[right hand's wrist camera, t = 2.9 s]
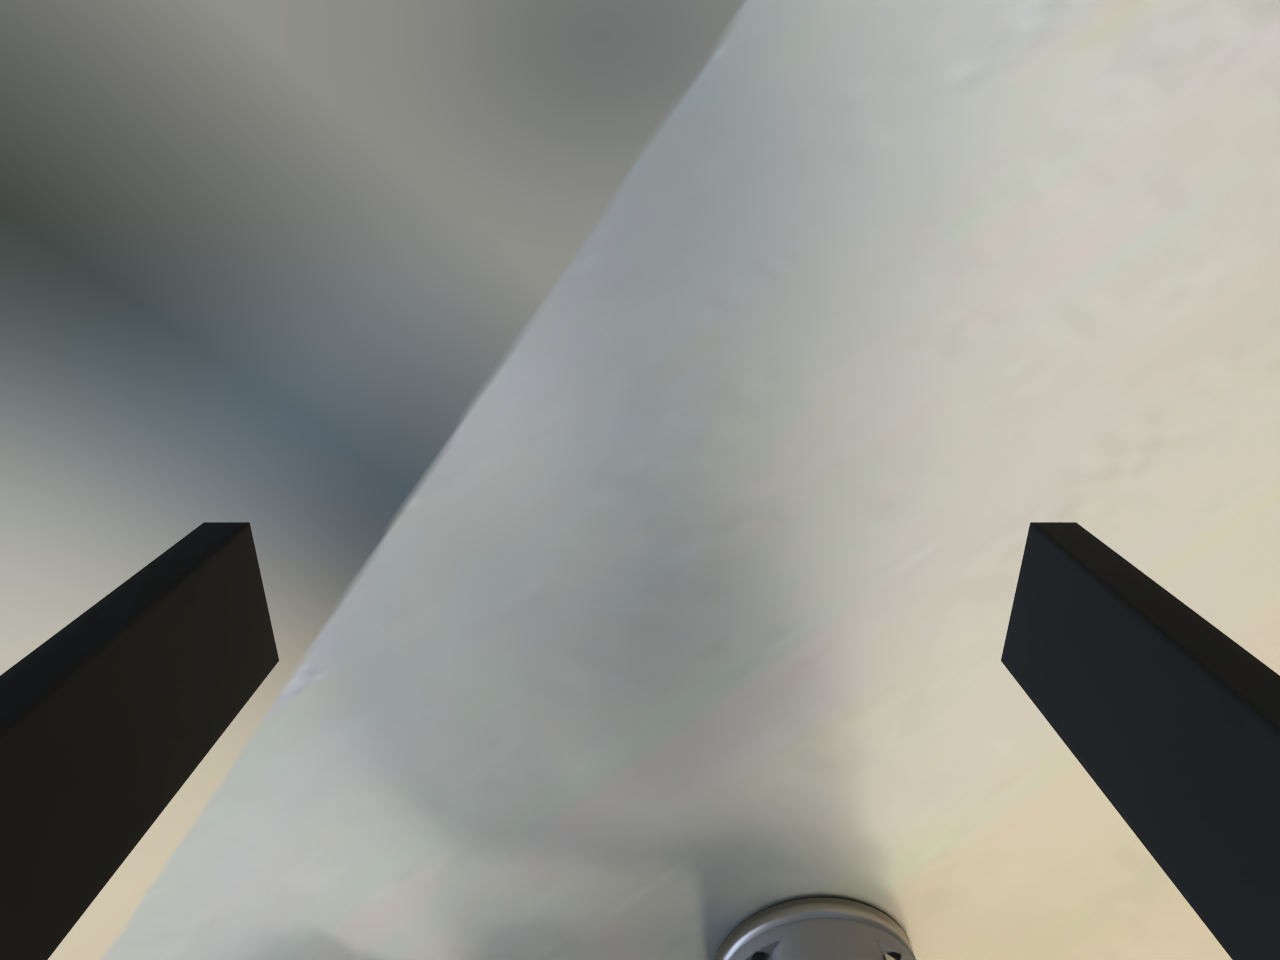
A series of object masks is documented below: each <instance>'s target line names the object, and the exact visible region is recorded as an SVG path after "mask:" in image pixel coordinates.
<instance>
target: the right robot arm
mask: <svg viewBox="0 0 1280 960" xmlns="http://www.w3.org/2000/svg"><path fill="white" fill-rule="evenodd" d="M278 661H279V658H278V654H277V649H276V644H275V640H274V635H273V630H272V626H271V621H270V616H269V611H268V607H267V602H266V597H265V593H264V588H263V583H262V579H261V574H260V569H259V565H258V560H257V555H256V550H255V546H254V541H253V537H252V532H251V527H250V523H203V524H201V525H200V526H199V527H197V528H196V529H195V530H193V531H192V532H191V533H189V534H188V535H187V536H185V537H184V538H183V539H181V540H180V541H179V542H177V543H176V544H175V545H174V546H172V547H171V548H170V549H168V550H167V551H166V552H164V553H163V554H162V555H160V556H159V557H158V558H156V559H155V560H154V561H152V562H151V563H150V564H148V565H147V566H146V567H144V568H143V569H142V570H140V571H139V572H138V573H136V574H135V575H134V576H132V577H131V578H130V579H128V580H127V581H126V582H124V583H123V584H122V585H120V586H119V587H118V588H116V589H115V590H114V591H112V592H111V593H110V594H108V595H107V596H106V597H104V598H103V599H102V600H100V601H99V602H98V603H96V604H95V605H94V606H92V607H91V608H90V609H89V610H87V611H86V612H84V613H83V614H82V615H80V616H79V617H78V618H77V619H75V620H74V621H72V622H71V623H70V624H69V625H67V626H66V627H65V628H63V629H62V630H61V631H59V632H58V633H57V634H55V635H54V636H53V637H51V638H50V639H49V640H47V641H46V642H45V643H43V644H42V645H41V646H39V647H38V648H37V649H35V650H34V651H33V652H31V653H30V654H29V655H27V656H26V657H25V658H23V659H22V660H21V661H19V662H18V663H17V664H15V665H14V666H13V667H11V668H10V669H9V670H7V671H6V672H5V673H3V674H2V675H1V676H0V960H48V958H49V957H50V956H51V954H52V953H53V952H54V951H55V949H56V948H57V947H58V945H59V944H60V943H61V941H62V940H63V939H64V938H65V936H66V935H67V934H68V932H69V931H70V930H71V929H72V927H73V926H74V925H75V923H76V922H77V921H78V919H79V918H80V917H81V916H82V914H83V913H84V912H85V910H86V909H87V908H88V907H89V905H90V904H91V903H92V901H93V900H94V899H95V898H96V896H97V895H98V894H99V892H100V891H101V890H102V889H103V887H104V886H105V885H106V883H107V882H108V881H109V879H110V878H111V877H112V876H113V874H114V873H115V872H116V870H117V869H118V868H119V867H120V865H121V864H122V863H123V861H124V860H125V859H126V858H127V856H128V855H129V854H130V852H131V851H132V850H133V849H134V847H135V846H136V845H137V843H138V842H139V841H140V839H141V838H142V837H143V836H144V834H145V833H146V832H147V830H148V829H149V828H150V827H151V825H152V824H153V823H154V821H155V820H156V819H157V818H158V816H159V815H160V814H161V812H162V811H163V810H164V808H165V807H166V806H167V805H168V803H169V802H170V801H171V799H172V798H173V797H174V796H175V794H176V793H177V792H178V790H179V789H180V788H181V787H182V785H183V784H184V783H185V781H186V780H187V779H188V777H189V776H190V775H191V774H192V772H193V771H194V770H195V768H196V767H197V766H198V764H199V763H200V762H201V761H202V759H203V758H204V757H205V756H206V754H207V753H208V752H209V750H210V749H211V748H212V746H213V745H214V744H215V743H216V741H217V740H218V739H219V737H220V736H221V735H222V734H223V732H224V731H225V730H226V728H227V727H228V726H229V725H230V723H231V722H232V721H233V719H234V718H235V717H236V715H237V714H238V713H239V712H240V710H241V709H242V708H243V706H244V705H245V704H246V703H247V701H248V700H249V699H250V697H251V696H252V695H253V694H254V692H255V691H256V690H257V688H258V687H259V686H260V684H261V683H262V682H263V681H264V679H265V678H266V677H267V675H268V674H269V673H270V672H271V670H272V669H273V668H274V666H275V665H276V664H277V662H278ZM1001 661H1002V663H1003V664H1004V665H1005V666H1006V668H1007V669H1008V670H1009V672H1010V673H1011V674H1012V675H1013V677H1014V678H1015V679H1016V681H1017V682H1018V683H1019V685H1020V686H1021V687H1022V688H1023V690H1024V691H1025V692H1026V694H1027V695H1028V696H1029V697H1030V699H1031V700H1032V701H1033V703H1034V704H1035V705H1036V706H1037V708H1038V709H1039V710H1040V712H1041V713H1042V714H1043V716H1044V717H1045V718H1046V719H1047V721H1048V722H1049V723H1050V725H1051V726H1052V727H1053V728H1054V730H1055V731H1056V732H1057V734H1058V735H1059V736H1060V737H1061V739H1062V740H1063V741H1064V743H1065V744H1066V745H1067V747H1068V748H1069V749H1070V750H1071V752H1072V753H1073V754H1074V756H1075V757H1076V758H1077V759H1078V761H1079V762H1080V763H1081V765H1082V766H1083V767H1084V768H1085V770H1086V771H1087V772H1088V774H1089V775H1090V776H1091V777H1092V779H1093V780H1094V781H1095V783H1096V784H1097V785H1098V787H1099V788H1100V789H1101V790H1102V792H1103V793H1104V794H1105V796H1106V797H1107V798H1108V799H1109V801H1110V802H1111V803H1112V805H1113V806H1114V807H1115V808H1116V810H1117V811H1118V812H1119V814H1120V815H1121V816H1122V818H1123V819H1124V820H1125V821H1126V823H1127V824H1128V825H1129V827H1130V828H1131V829H1132V830H1133V832H1134V833H1135V834H1136V836H1137V837H1138V838H1139V839H1140V841H1141V842H1142V843H1143V845H1144V846H1145V847H1146V849H1147V850H1148V851H1149V852H1150V854H1151V855H1152V856H1153V858H1154V859H1155V860H1156V861H1157V863H1158V864H1159V865H1160V867H1161V868H1162V869H1163V870H1164V872H1165V873H1166V874H1167V876H1168V877H1169V878H1170V879H1171V881H1172V882H1173V883H1174V885H1175V886H1176V887H1177V889H1178V890H1179V891H1180V892H1181V894H1182V895H1183V896H1184V898H1185V899H1186V900H1187V901H1188V903H1189V904H1190V905H1191V907H1192V908H1193V909H1194V910H1195V912H1196V913H1197V914H1198V916H1199V917H1200V918H1201V920H1202V921H1203V922H1204V923H1205V925H1206V926H1207V927H1208V929H1209V930H1210V931H1211V932H1212V934H1213V935H1214V936H1215V938H1216V939H1217V940H1218V941H1219V943H1220V944H1221V945H1222V947H1223V948H1224V949H1225V951H1226V952H1227V953H1228V954H1229V956H1230V957H1231V958H1232V960H1280V676H1279V675H1278V674H1277V673H1275V672H1274V671H1273V670H1271V669H1270V668H1269V667H1267V666H1266V665H1265V664H1263V663H1262V662H1261V661H1259V660H1258V659H1257V658H1255V657H1254V656H1253V655H1251V654H1250V653H1249V652H1247V651H1246V650H1245V649H1243V648H1242V647H1241V646H1239V645H1238V644H1237V643H1235V642H1234V641H1233V640H1231V639H1230V638H1229V637H1227V636H1226V635H1225V634H1223V633H1222V632H1221V631H1219V630H1218V629H1217V628H1215V627H1214V626H1213V625H1211V624H1210V623H1209V622H1208V621H1206V620H1205V619H1204V618H1202V617H1201V616H1200V615H1198V614H1197V613H1196V612H1194V611H1193V610H1192V609H1190V608H1189V607H1188V606H1186V605H1185V604H1184V603H1182V602H1181V601H1180V600H1178V599H1177V598H1176V597H1174V596H1173V595H1172V594H1170V593H1169V592H1168V591H1166V590H1165V589H1164V588H1162V587H1161V586H1160V585H1158V584H1157V583H1156V582H1154V581H1153V580H1152V579H1150V578H1149V577H1148V576H1146V575H1145V574H1144V573H1142V572H1141V571H1140V570H1138V569H1137V568H1136V567H1134V566H1133V565H1132V564H1130V563H1129V562H1128V561H1126V560H1125V559H1124V558H1122V557H1121V556H1120V555H1118V554H1117V553H1116V552H1114V551H1113V550H1112V549H1110V548H1109V547H1108V546H1106V545H1105V544H1104V543H1103V542H1101V541H1100V540H1099V539H1097V538H1096V537H1095V536H1093V535H1092V534H1091V533H1089V532H1088V531H1087V530H1085V529H1084V528H1083V527H1081V526H1080V525H1079V524H1077V523H1030V527H1029V532H1028V536H1027V541H1026V546H1025V550H1024V555H1023V560H1022V565H1021V569H1020V574H1019V579H1018V583H1017V588H1016V593H1015V597H1014V602H1013V607H1012V611H1011V616H1010V621H1009V625H1008V630H1007V635H1006V639H1005V644H1004V649H1003V654H1002V658H1001ZM716 960H916V959H915V956H914V953H913V951H912V948H911V945H910V942H909V940H908V938H907V936H906V935H905V933H904V932H903V930H902V929H901V928H900V927H899V926H898V924H896V923H895V922H894V921H893V920H892V919H891V918H889V917H888V916H887V915H885V914H884V913H882V912H880V911H878V910H876V909H874V908H872V907H870V906H867V905H864V904H862V903H858V902H854V901H850V900H845V899H838V898H806V899H799V900H793V901H789V902H785V903H781V904H778V905H775V906H772V907H770V908H767V909H765V910H762V911H760V912H759V913H757V914H755V915H753V916H751V917H750V918H748V919H747V920H745V921H744V922H743V923H741V924H740V925H739V926H738V927H736V928H735V929H734V930H733V931H732V932H731V933H730V935H729V936H728V937H727V938H726V940H725V941H724V942H723V944H722V946H721V947H720V949H719V952H718V954H717V957H716Z"/></svg>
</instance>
